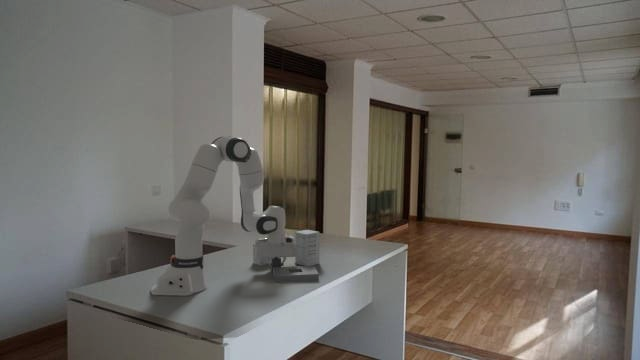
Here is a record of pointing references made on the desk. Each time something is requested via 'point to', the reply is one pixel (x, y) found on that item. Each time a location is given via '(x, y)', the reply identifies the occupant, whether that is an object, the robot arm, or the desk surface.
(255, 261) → the light bulb box
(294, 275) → the socket plate
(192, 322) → the desk surface
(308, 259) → the supplement box
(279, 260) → the plug
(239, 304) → the desk surface
